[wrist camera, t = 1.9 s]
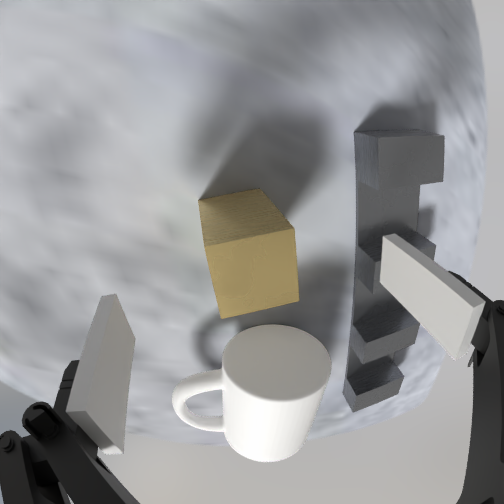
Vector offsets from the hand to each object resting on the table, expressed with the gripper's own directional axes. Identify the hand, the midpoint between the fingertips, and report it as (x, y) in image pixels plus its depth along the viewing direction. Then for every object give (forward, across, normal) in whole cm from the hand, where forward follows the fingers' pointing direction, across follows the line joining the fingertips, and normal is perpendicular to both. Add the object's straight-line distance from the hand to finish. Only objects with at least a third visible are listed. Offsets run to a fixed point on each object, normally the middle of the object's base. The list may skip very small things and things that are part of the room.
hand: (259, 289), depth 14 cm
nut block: (+7, 0, +1) cm, 7 cm away
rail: (+8, +12, -8) cm, 16 cm away
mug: (+8, -2, -13) cm, 15 cm away
